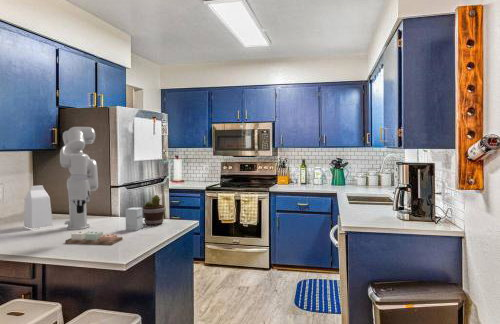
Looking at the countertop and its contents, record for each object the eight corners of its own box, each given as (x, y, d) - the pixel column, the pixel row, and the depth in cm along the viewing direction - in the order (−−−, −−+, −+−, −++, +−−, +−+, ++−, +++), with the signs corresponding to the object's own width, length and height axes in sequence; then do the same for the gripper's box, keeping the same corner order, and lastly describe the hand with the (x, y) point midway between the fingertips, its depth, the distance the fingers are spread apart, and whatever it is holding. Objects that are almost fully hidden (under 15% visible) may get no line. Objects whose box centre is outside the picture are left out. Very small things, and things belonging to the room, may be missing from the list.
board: (65, 243, 182) (65, 240, 182) (78, 238, 192) (77, 235, 192) (112, 244, 177) (111, 241, 177) (122, 239, 187) (122, 237, 187)
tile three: (99, 242, 181) (99, 236, 181) (106, 239, 187) (106, 233, 187) (110, 242, 180) (110, 236, 180) (116, 239, 186) (116, 233, 186)
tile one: (71, 239, 183) (71, 233, 183) (78, 236, 189) (78, 230, 189) (81, 239, 182) (81, 233, 182) (89, 236, 188) (88, 230, 188)
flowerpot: (138, 223, 228) (137, 192, 227) (161, 220, 237) (160, 190, 236) (146, 227, 216) (145, 194, 216) (170, 224, 225) (169, 192, 225)
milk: (31, 230, 214) (30, 187, 213) (24, 227, 221) (22, 186, 220) (52, 226, 223) (51, 185, 222) (44, 224, 230) (43, 184, 229)
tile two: (85, 239, 182) (85, 233, 182) (92, 237, 188) (92, 231, 188) (96, 240, 181) (95, 234, 181) (102, 237, 187) (102, 231, 187)
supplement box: (136, 231, 208) (136, 209, 207) (125, 230, 209) (124, 209, 209) (143, 228, 215) (142, 207, 214) (132, 227, 216) (131, 207, 216)
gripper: (61, 178, 182) (62, 214, 183) (87, 178, 180) (89, 214, 181) (71, 177, 190) (72, 211, 190) (96, 177, 187) (97, 211, 188)
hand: (80, 212), depth 186 cm, fingers closed
